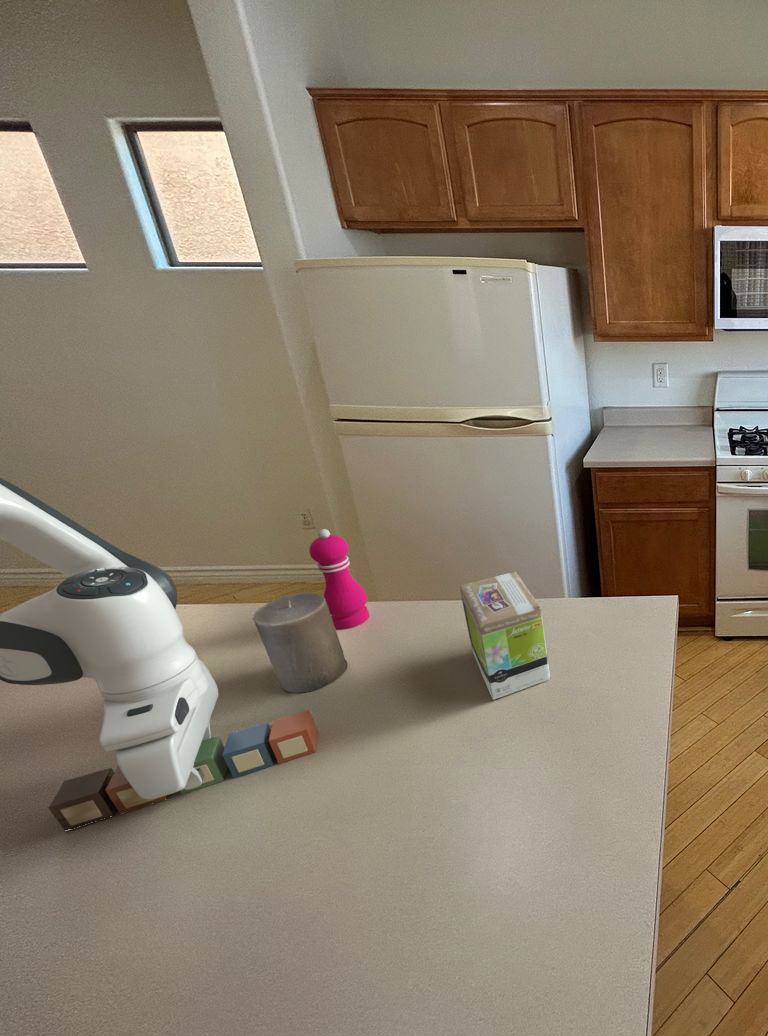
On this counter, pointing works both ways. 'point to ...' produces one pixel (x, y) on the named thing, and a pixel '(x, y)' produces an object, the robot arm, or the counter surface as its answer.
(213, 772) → the sage green letter block
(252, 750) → the slate blue letter block
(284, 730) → the terracotta letter block
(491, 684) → the tea box
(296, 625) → the pillar candle
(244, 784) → the counter surface
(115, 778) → the teak letter block
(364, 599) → the pepper mill
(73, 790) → the walnut letter block
